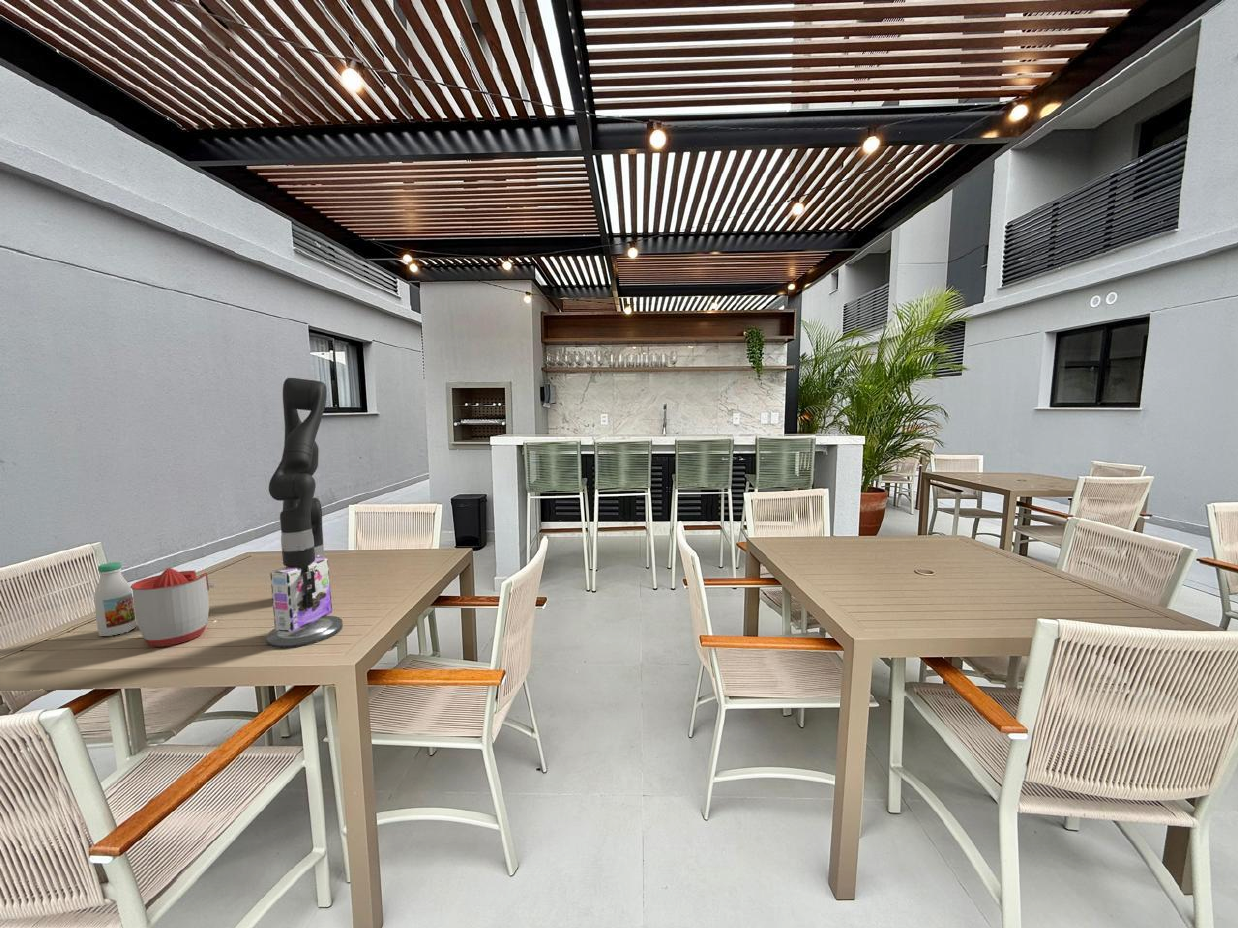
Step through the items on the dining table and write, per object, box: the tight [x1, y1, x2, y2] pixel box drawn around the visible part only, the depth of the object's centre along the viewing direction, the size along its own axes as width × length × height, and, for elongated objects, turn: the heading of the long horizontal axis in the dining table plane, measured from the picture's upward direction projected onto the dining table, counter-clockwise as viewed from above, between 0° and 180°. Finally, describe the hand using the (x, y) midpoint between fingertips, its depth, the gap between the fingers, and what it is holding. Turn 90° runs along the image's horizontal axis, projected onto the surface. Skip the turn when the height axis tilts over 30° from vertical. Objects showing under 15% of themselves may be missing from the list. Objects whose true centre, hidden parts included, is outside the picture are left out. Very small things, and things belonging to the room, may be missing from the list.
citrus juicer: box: [130, 567, 215, 648], centre depth 139 cm, size 16×17×20 cm
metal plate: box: [265, 615, 344, 649], centre depth 140 cm, size 18×18×2 cm
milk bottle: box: [93, 562, 137, 637], centre depth 143 cm, size 8×8×20 cm
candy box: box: [270, 557, 333, 632], centre depth 139 cm, size 14×6×16 cm, turn 166°
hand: (303, 603), depth 139 cm, fingers closed on candy box, 7 cm apart
